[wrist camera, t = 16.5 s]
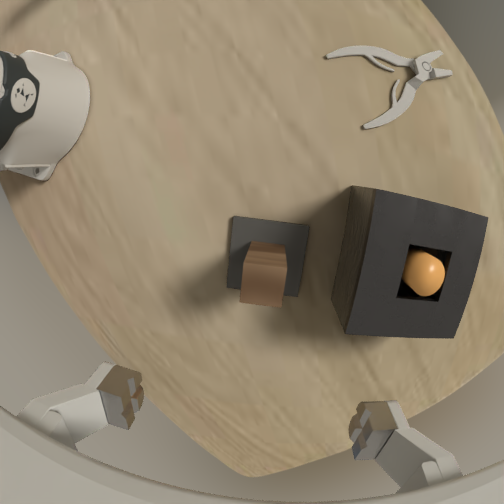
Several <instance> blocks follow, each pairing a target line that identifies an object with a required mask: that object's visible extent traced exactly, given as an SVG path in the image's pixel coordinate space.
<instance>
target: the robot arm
mask: <svg viewBox="0 0 504 504" xmlns="http://www.w3.org/2000/svg"><path fill="white" fill-rule="evenodd" d="M89 105H90V88H89V83H88V80H87V78H86V76H85V74H84V73H83V72H82V70H80V69H79V68H78V67H76V66H75V65H74V64H73V62H72V59H71V56H70V54H69V53H68V52H64V51H62V52H59V53H58V54H56V55H54V56H52V55H48V54H45V53H41V52H37V51H33V50H27V51H26V52H24V53H22V54H20V55H19V56H18V55H15V54H13V53H11V52H7V51H0V171H2V170H10V171H13V172H16V173H20V174H23V175H26V176H29V177H32V178H35V179H38V180H44V181H46V180H48V179H49V178H50V176H51V174H52V173H53V171H54V168H55V166H56V164H57V163H58V162H59V160H60V159H61V158H62V157H64V156H65V155H66V154H67V153H68V152H69V150H70V149H71V148H72V147H73V145H74V144H75V143H76V141H77V139H78V138H79V136H80V134H81V132H82V129H83V127H84V125H85V122H86V119H87V115H88V111H89ZM141 381H142V376H141V373H140V372H138V371H134V370H131V369H128V368H125V367H122V366H119V365H115V364H112V363H109V362H106V361H105V362H103V363H102V364H101V365H100V366H99V367H98V368H97V370H96V371H95V372H94V373H93V374H92V376H91V377H90V378H89V379H88V380H87V382H86V383H85V384H78V385H75V386H72V387H69V388H66V389H62V390H60V391H56V392H53V393H50V394H47V395H43V396H40V397H37V398H34V399H32V400H31V401H30V402H29V403H28V404H27V405H26V406H25V408H24V409H23V410H22V411H21V412H20V413H19V414H18V415H17V416H14V415H13V414H11V413H10V412H8V411H7V410H5V409H4V408H3V407H1V406H0V504H504V460H502V461H500V462H497V463H495V464H493V465H491V466H488V467H486V468H483V469H481V470H478V471H475V472H473V473H470V474H467V475H464V476H463V475H462V472H461V470H460V468H459V466H458V464H457V462H456V460H455V458H454V455H453V454H451V453H450V452H448V451H447V450H445V449H444V448H442V447H440V446H439V445H437V444H436V443H435V442H433V441H432V440H430V439H429V438H427V437H426V436H424V435H423V434H421V433H420V432H418V431H417V430H415V429H414V428H410V427H409V425H408V423H407V420H406V418H405V416H404V414H403V411H402V409H401V407H400V405H399V403H398V402H397V401H396V400H393V401H372V402H360V403H359V404H358V406H357V408H356V410H357V414H356V415H354V416H353V417H352V419H351V421H350V424H349V437H350V439H351V440H352V441H353V442H354V444H353V446H352V450H353V455H354V459H355V460H369V459H375V461H376V462H377V463H378V464H379V465H380V466H381V467H382V468H383V469H384V471H386V473H387V474H388V475H389V476H390V477H391V478H392V479H393V480H394V481H395V482H396V483H397V484H398V485H399V486H400V487H401V488H400V489H399V490H398V491H397V492H396V493H395V494H391V495H385V496H378V497H372V498H363V499H355V500H343V501H327V502H281V501H264V500H252V499H242V498H235V497H227V496H221V495H215V494H209V493H204V492H199V491H193V490H189V489H184V488H180V487H176V486H172V485H168V484H165V483H161V482H157V481H154V480H150V479H147V478H144V477H141V476H138V475H135V474H132V473H129V472H126V471H123V470H121V469H118V468H115V467H113V466H110V465H108V464H105V463H103V462H100V461H97V460H96V459H93V458H91V457H89V456H86V455H84V454H82V453H80V452H78V450H77V448H76V446H75V443H77V442H78V441H80V440H82V439H84V438H85V437H88V436H89V435H91V434H93V433H95V432H97V431H98V430H100V429H102V428H104V427H105V426H107V425H108V424H111V425H114V426H117V427H120V428H123V429H127V430H129V428H130V427H131V425H132V423H133V421H134V419H135V416H134V413H135V412H137V411H139V410H140V408H141V406H142V402H143V398H144V391H143V388H142V387H141V385H140V383H141Z"/></svg>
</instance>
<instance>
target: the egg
mask: <svg viewBox="0 0 504 504" xmlns="http://www.w3.org/2000/svg"><path fill="white" fill-rule="evenodd" d="M444 276H445V270H444V266H443V264H442V262H441V261H440V260H438V259H437V258H435V257H433V256H432V255H430V254H428V253H426V252H425V251H423V250H421V249H419V248H418V247H416V246H414V245H412V244H409V248H408V253H407V257H406V262H405V266H404V270H403V274H402V278H401V279H402V280H403V281H404V282H405V283H406V284H407V285H408V286H410V287H411V288H412V289H413V290H414V291H415V292H416V293H417V294H419V295H421V296H429V295H432V294H434V293H435V292H436V291H437V290H438V289H439V288H440V287H441V285H442V283H443V280H444Z"/></svg>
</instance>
